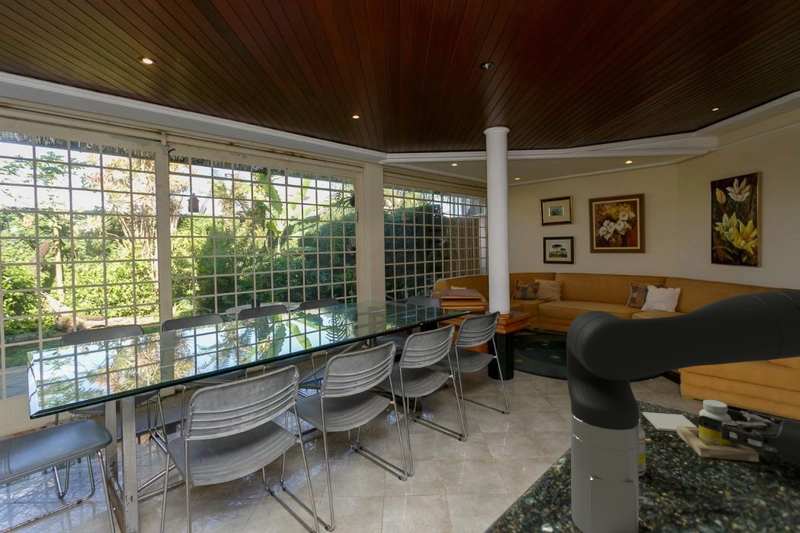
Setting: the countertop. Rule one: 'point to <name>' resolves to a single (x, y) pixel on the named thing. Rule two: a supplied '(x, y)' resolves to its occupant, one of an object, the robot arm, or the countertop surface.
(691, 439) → the socket block
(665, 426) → the coaster
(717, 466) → the countertop surface
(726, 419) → the supplement bottle
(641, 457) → the supplement bottle
